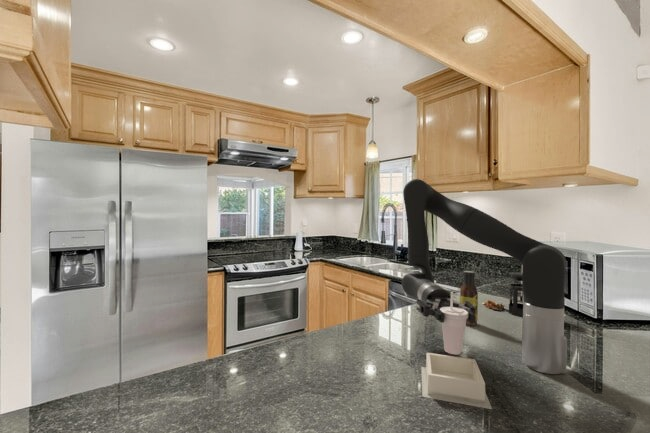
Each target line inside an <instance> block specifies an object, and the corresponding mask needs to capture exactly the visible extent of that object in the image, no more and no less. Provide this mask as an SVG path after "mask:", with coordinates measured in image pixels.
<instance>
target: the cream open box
mask: <svg viewBox="0 0 650 433" xmlns="http://www.w3.org/2000/svg"><path fill="white" fill-rule="evenodd" d="M425 357H426V360H425V361H426V362H425V365H426V366H425V367H426V375H427V390H428V395H434V396H439V397H445V398H450V399H456V400H461V401H467V402H473V403H478V404H484V405H485V392H486V382H485V380H484V378H483V375H482V373H481V370H480V368H479V365H478V363H477V360H476V359H474V358H468V357H461V356H454V355H446V354H439V353H432V352H426V356H425Z"/></svg>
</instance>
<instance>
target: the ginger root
mask: <svg viewBox="0 0 650 433" xmlns="http://www.w3.org/2000/svg"><path fill="white" fill-rule="evenodd" d="M481 305H485V306H484V308H486V309H490V308H491V309H492V310H498V311H502V310H505V311H506V312H508V310H509V309H505V304H504V303H502V302H501V303H500V304H499V303H498V302H495V301H493V300H491V299H488V300H487V301H486V300H485V301H484V302H483V301H482V302H481Z"/></svg>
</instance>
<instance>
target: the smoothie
mask: <svg viewBox="0 0 650 433" xmlns="http://www.w3.org/2000/svg"><path fill="white" fill-rule="evenodd" d="M450 295H451V300H450V307H442V308H440V310H441V311H442V312H443V313H444V323H441V329H442V337H443V338H442V340H443V350H444V351H445V352H446V353H448V354H450V355H456V356H457V355H460V354H462V349H463V344H464V338H465V331H466V326H467V325H466V320H467V318H468V317H469V316H468V312H467V311H466V310H464V309H461V308H456V307H453V300H454V292H453V291H450Z"/></svg>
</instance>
